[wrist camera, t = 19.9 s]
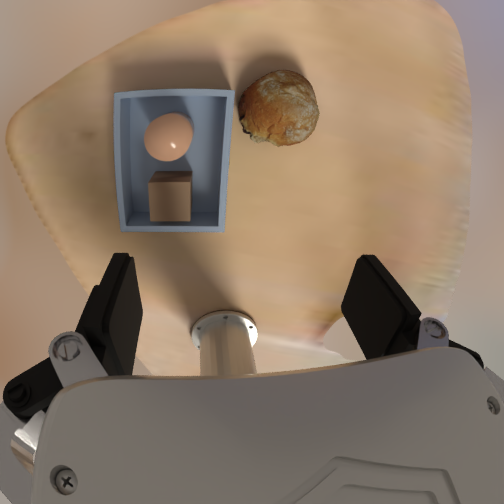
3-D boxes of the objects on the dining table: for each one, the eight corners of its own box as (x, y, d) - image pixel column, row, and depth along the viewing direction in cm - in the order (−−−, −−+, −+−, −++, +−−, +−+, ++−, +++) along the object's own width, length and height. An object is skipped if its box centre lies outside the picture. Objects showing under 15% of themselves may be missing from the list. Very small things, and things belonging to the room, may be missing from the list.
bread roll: (302, 130, 39) (343, 129, 32) (249, 160, 36) (287, 163, 30) (278, 69, 33) (317, 57, 27) (218, 93, 31) (251, 79, 24)
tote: (222, 216, 40) (224, 232, 36) (129, 215, 38) (120, 231, 34) (231, 91, 31) (235, 90, 27) (126, 92, 29) (114, 92, 25)
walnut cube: (192, 170, 36) (190, 182, 31) (192, 205, 38) (190, 221, 34) (155, 171, 35) (147, 182, 31) (156, 205, 37) (150, 221, 33)
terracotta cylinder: (195, 111, 32) (192, 114, 26) (193, 149, 34) (190, 161, 28) (156, 111, 31) (144, 115, 25) (155, 149, 33) (144, 161, 27)
